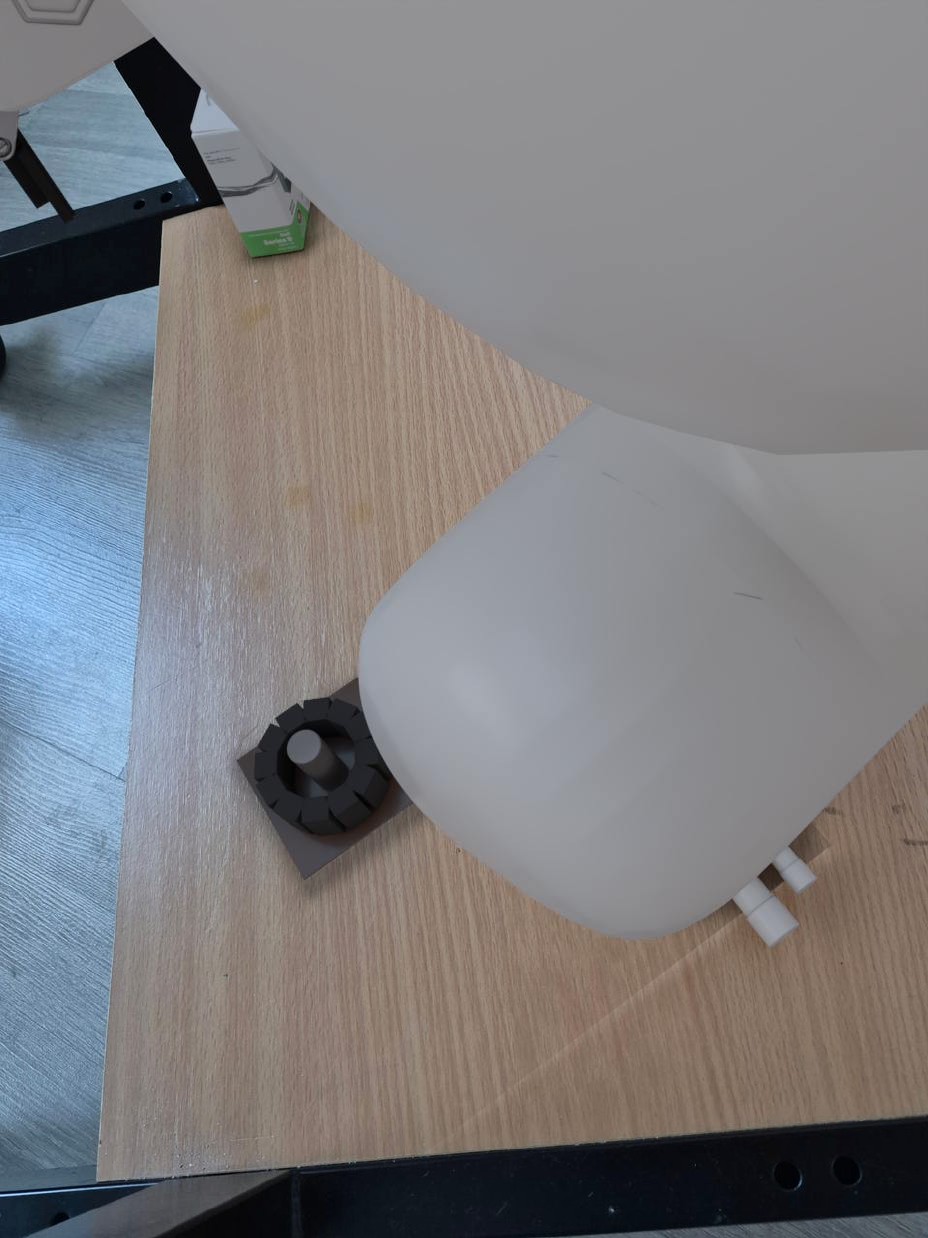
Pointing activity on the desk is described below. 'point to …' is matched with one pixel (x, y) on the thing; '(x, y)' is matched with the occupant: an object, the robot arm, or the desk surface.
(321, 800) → the black gear
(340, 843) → the peg stand
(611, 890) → the robot arm
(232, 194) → the ink box
